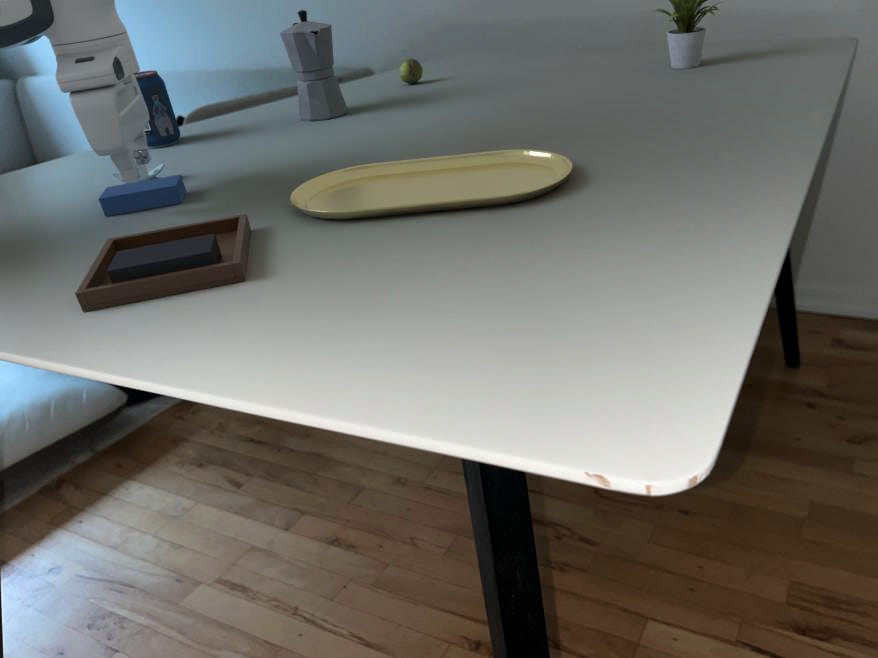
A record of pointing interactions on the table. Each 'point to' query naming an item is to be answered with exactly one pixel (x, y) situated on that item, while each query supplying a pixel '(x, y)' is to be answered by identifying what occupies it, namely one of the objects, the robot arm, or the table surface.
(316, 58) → the coffeepot
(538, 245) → the table surface
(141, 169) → the pacifier
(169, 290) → the tray
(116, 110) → the robot arm
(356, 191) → the serving platter
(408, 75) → the lime
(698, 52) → the house plant
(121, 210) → the pad blue
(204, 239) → the pad charcoal
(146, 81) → the soda can
